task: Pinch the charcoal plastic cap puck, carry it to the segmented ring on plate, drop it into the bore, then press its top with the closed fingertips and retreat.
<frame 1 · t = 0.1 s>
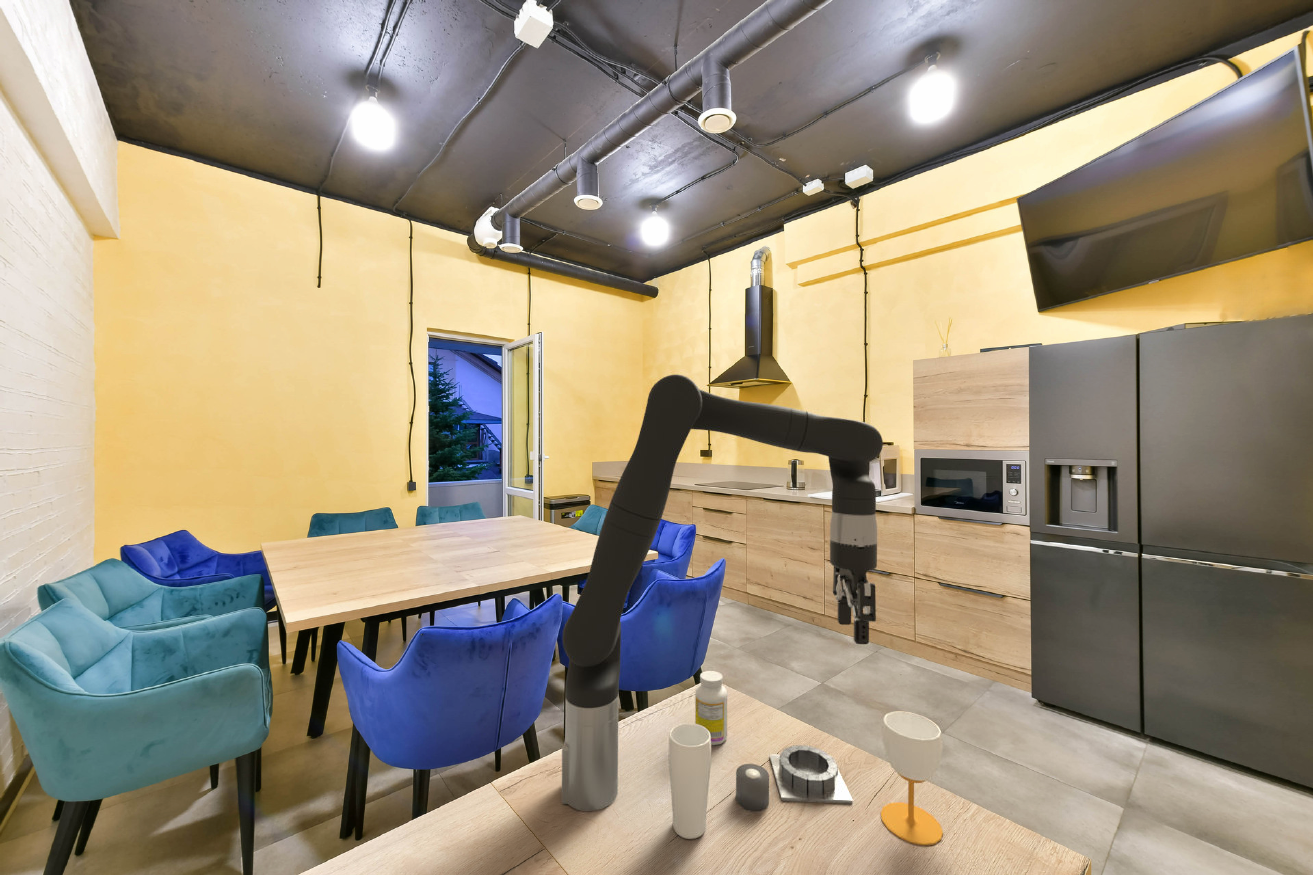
hand: (852, 633, 87), 29 cm above the table, fingers open, 8 cm apart
supplement bottle: (711, 738, 106), on the table
cup: (910, 824, 82), on the table
cap: (752, 800, 88), on the table
drinking glass: (689, 829, 81), on the table
segmented ring on plate: (808, 778, 93), on the table
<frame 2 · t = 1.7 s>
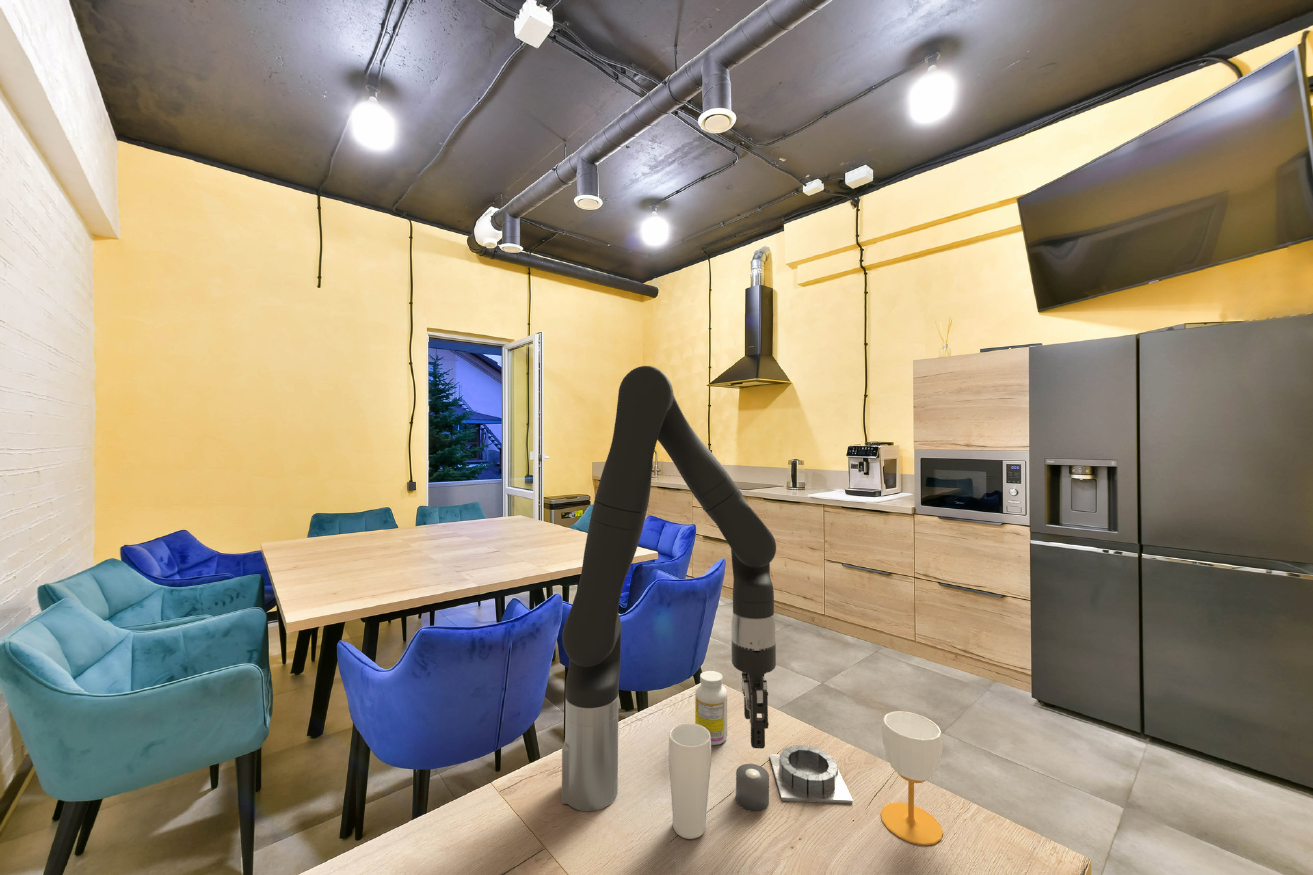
hand: (754, 731, 88), 12 cm above the table, fingers open, 8 cm apart
nothing on the table moved.
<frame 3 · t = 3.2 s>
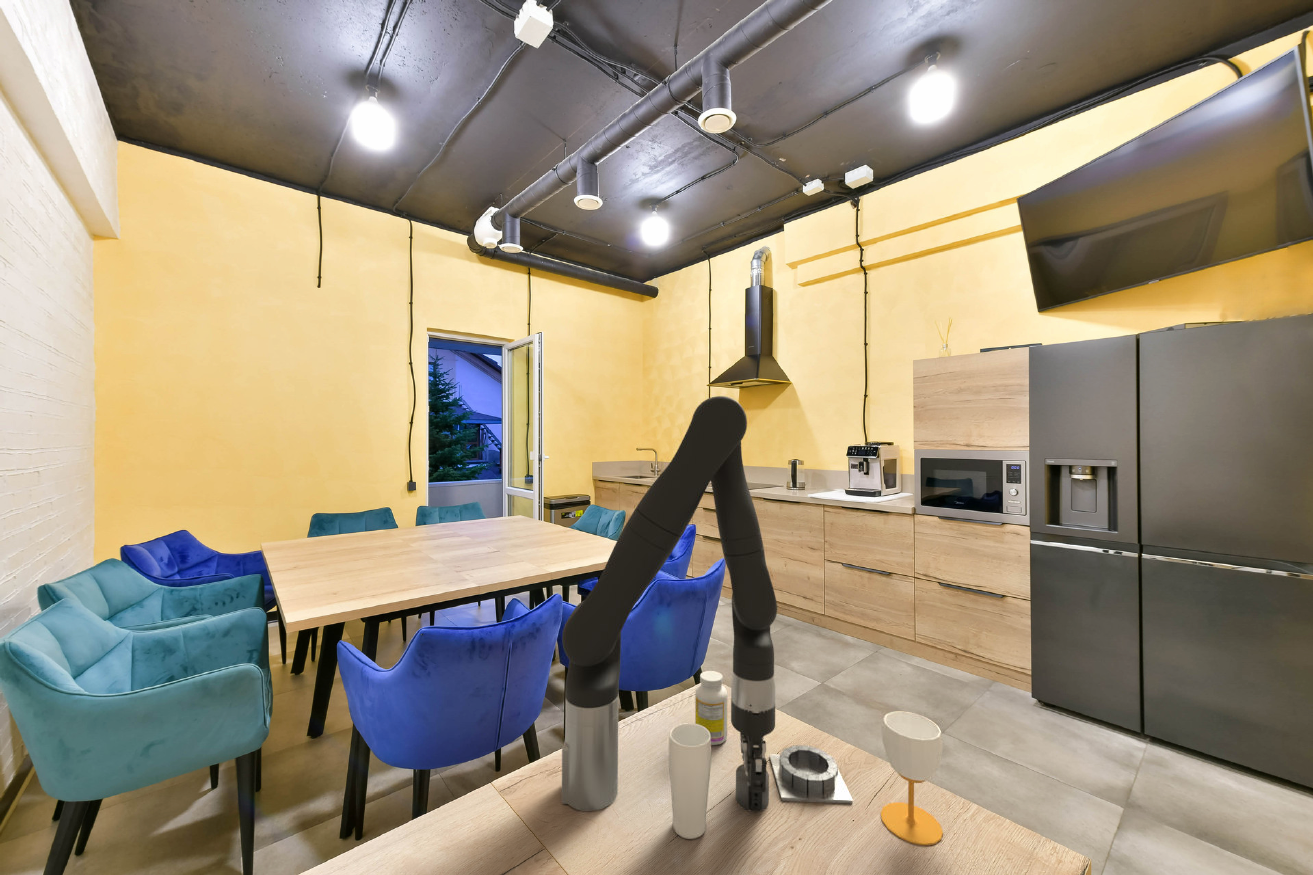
hand: (752, 795, 88), 1 cm above the table, fingers closed on cap, 5 cm apart
cap: (752, 799, 88), on the table, touching gripper
everything else where it was.
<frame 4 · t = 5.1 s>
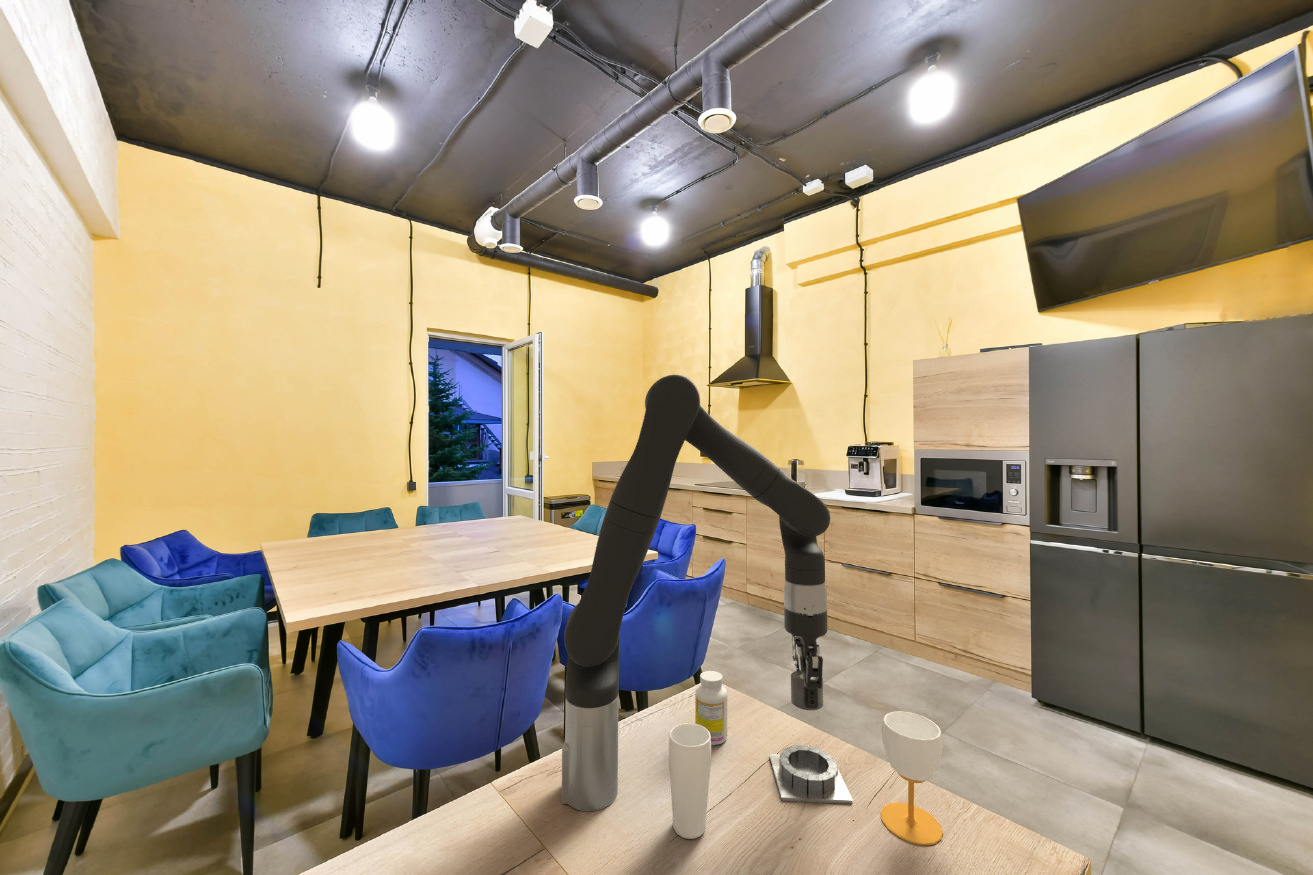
hand: (806, 697, 92), 15 cm above the table, fingers closed on cap, 5 cm apart
cap: (807, 701, 92), point 15 cm above the table, touching gripper
everything else where it was.
when the fingers open (4 cm above the table, at t = 7.3 s): cap drops 2 cm, resting on segmented ring on plate.
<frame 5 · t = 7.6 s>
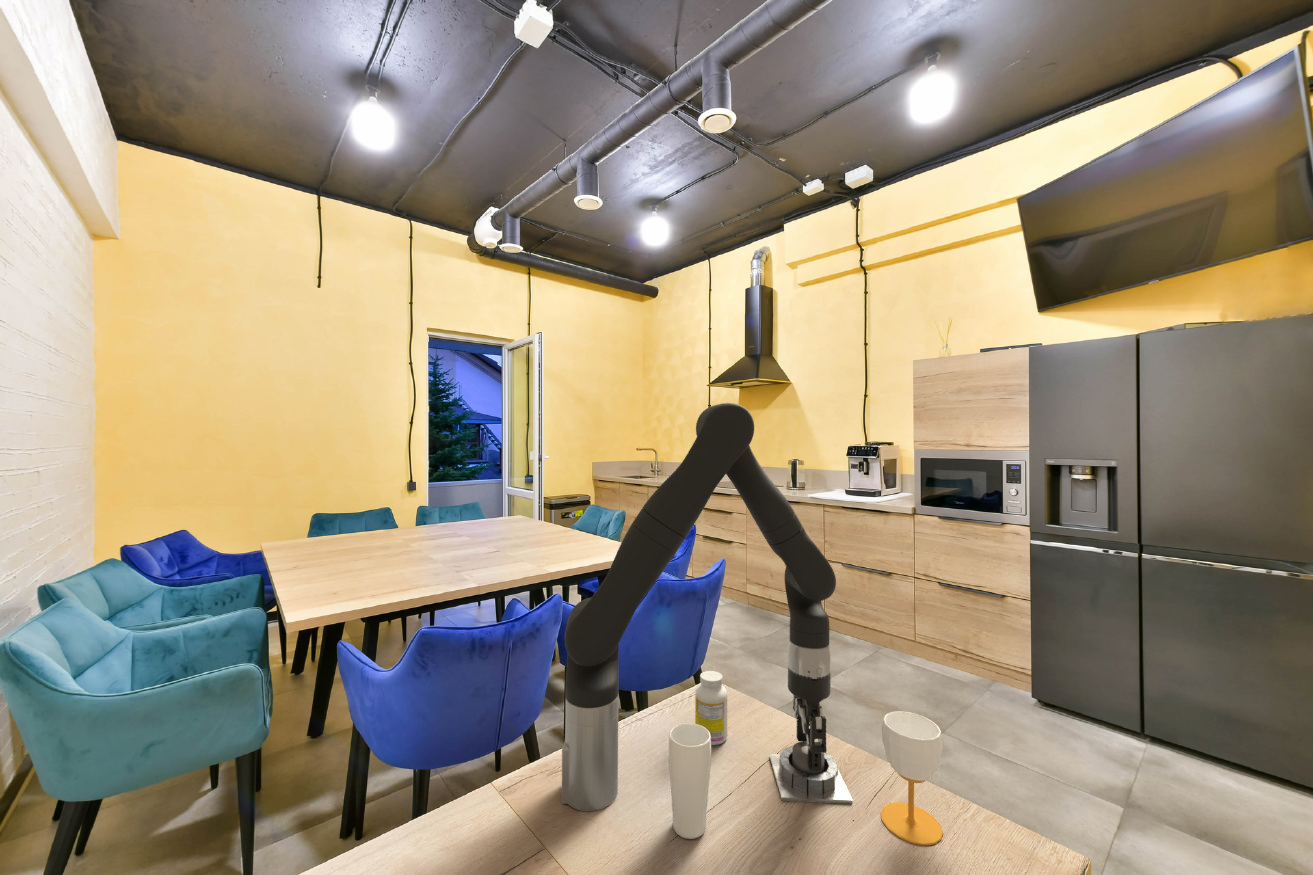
hand: (808, 754, 93), 4 cm above the table, fingers open, 8 cm apart
cap: (808, 775, 93), point 1 cm above the table, touching segmented ring on plate
everything else where it was.
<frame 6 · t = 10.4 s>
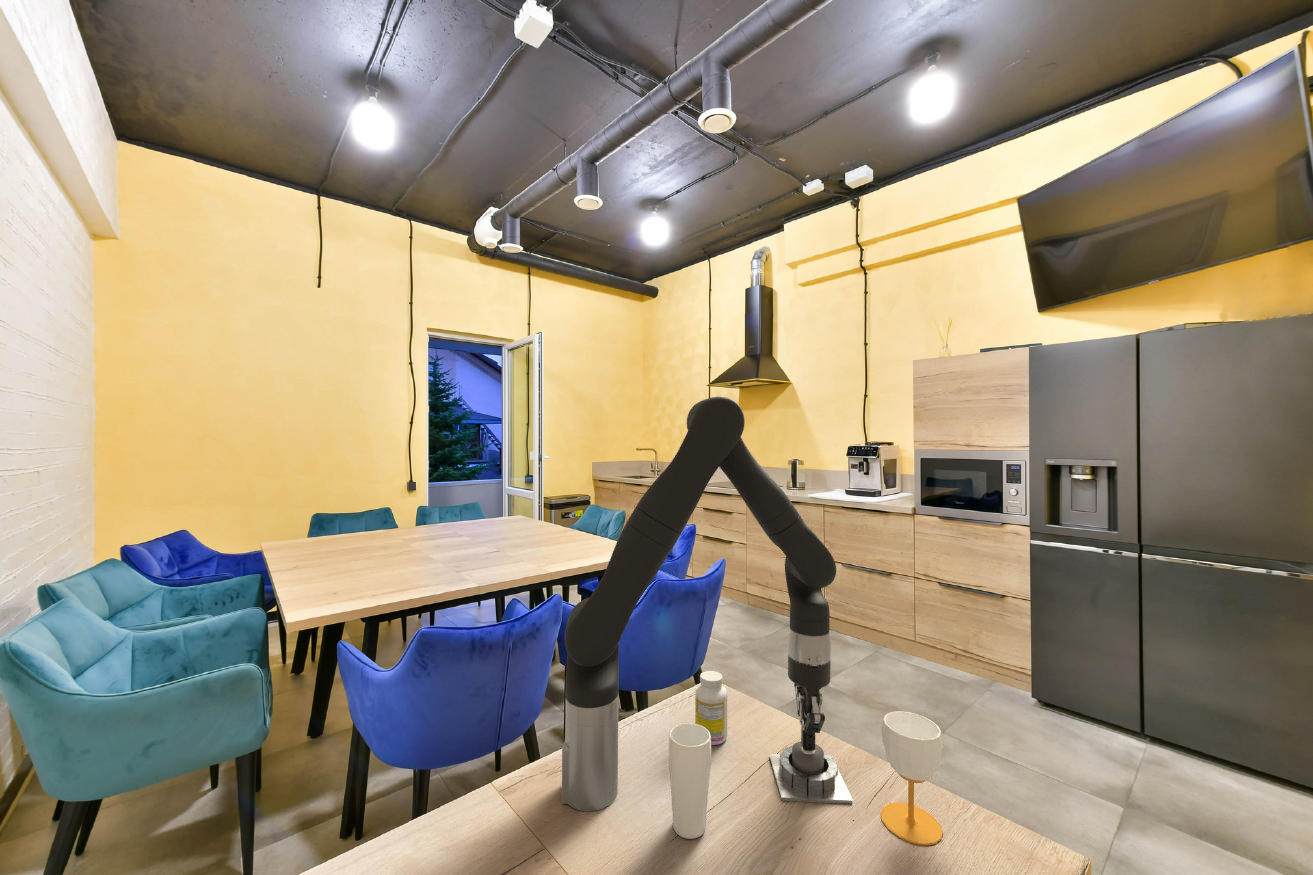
hand: (808, 748, 93), 6 cm above the table, fingers closed
nothing on the table moved.
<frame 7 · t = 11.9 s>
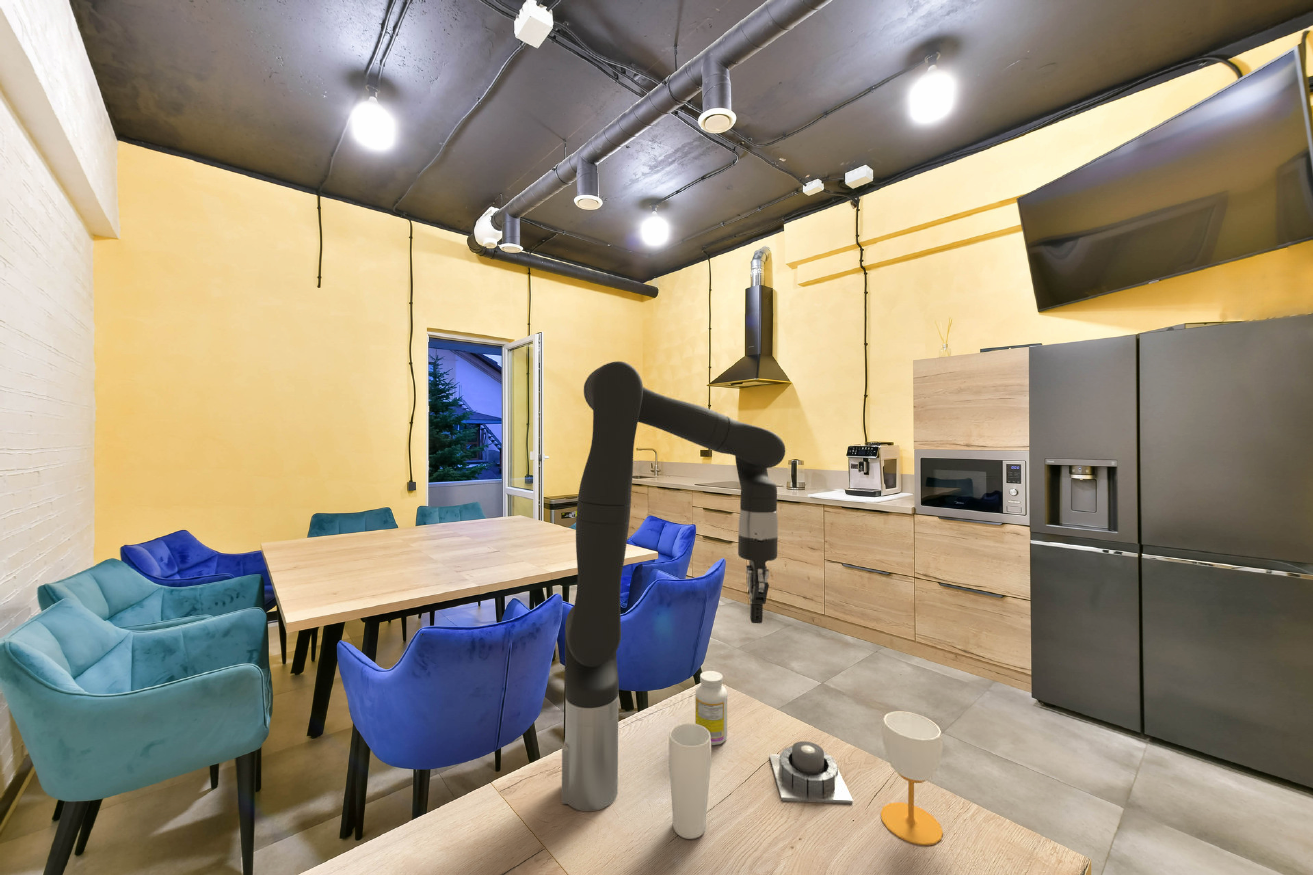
hand: (756, 621, 99), 26 cm above the table, fingers closed
nothing on the table moved.
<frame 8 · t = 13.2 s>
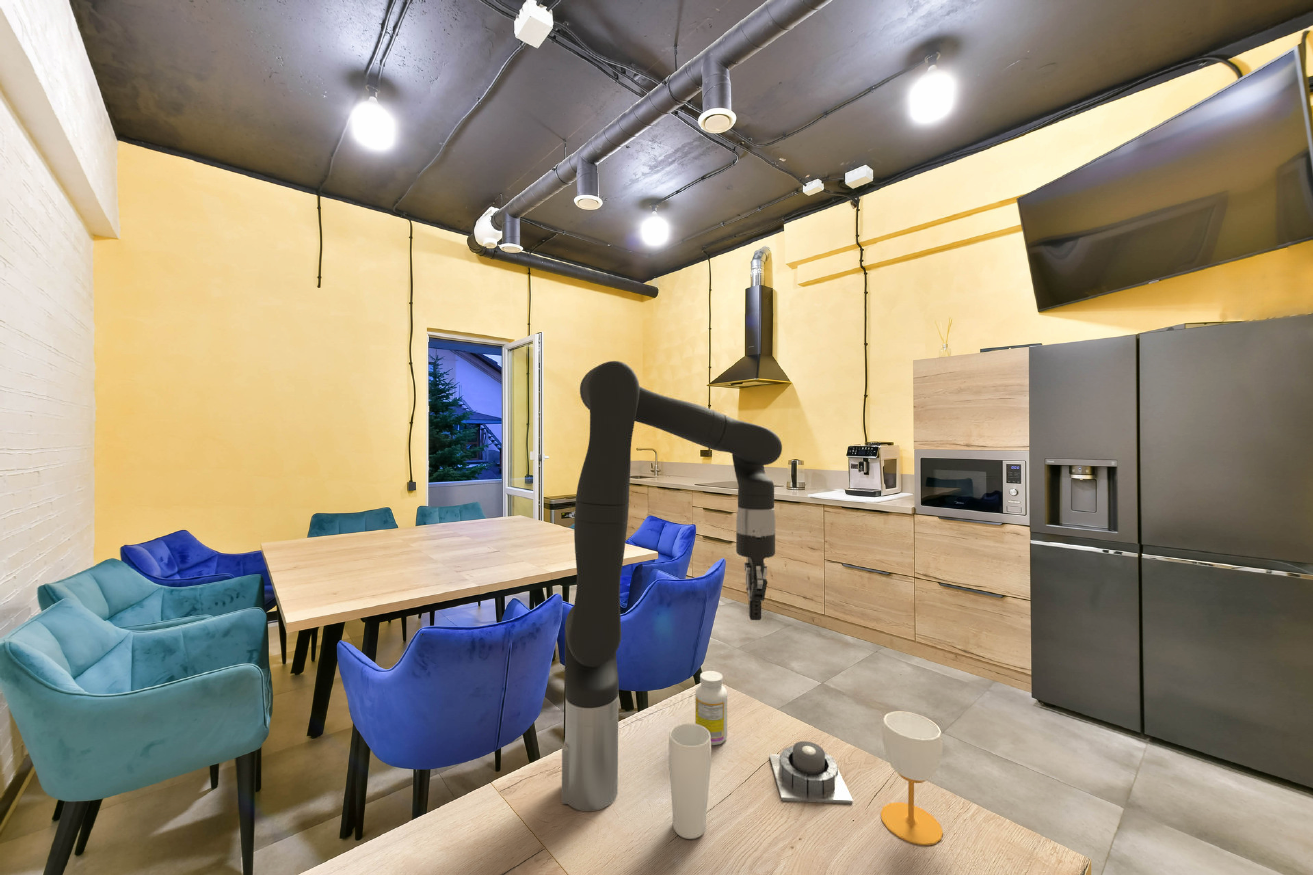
hand: (755, 618, 99), 27 cm above the table, fingers closed
nothing on the table moved.
at the end: cap 0.1 cm off-centre on the segmented ring on plate, point 0.7 cm above the segmented ring on plate's base; cap tilted 2°; the gripper is holding nothing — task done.
